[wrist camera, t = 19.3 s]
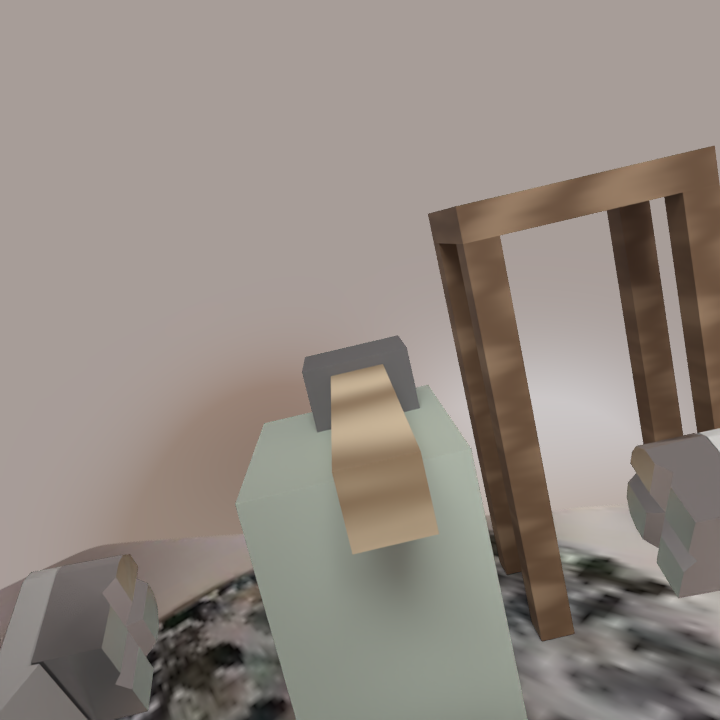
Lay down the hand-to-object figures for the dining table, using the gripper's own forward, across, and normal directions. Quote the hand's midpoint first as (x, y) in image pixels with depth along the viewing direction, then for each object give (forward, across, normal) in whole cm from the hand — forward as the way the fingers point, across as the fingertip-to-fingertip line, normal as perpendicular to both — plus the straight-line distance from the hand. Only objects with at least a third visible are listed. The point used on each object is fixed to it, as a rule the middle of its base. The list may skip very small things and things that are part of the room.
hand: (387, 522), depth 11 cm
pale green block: (+8, 0, -27) cm, 28 cm away
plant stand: (+18, +15, -32) cm, 40 cm away
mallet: (+12, 0, -11) cm, 16 cm away
